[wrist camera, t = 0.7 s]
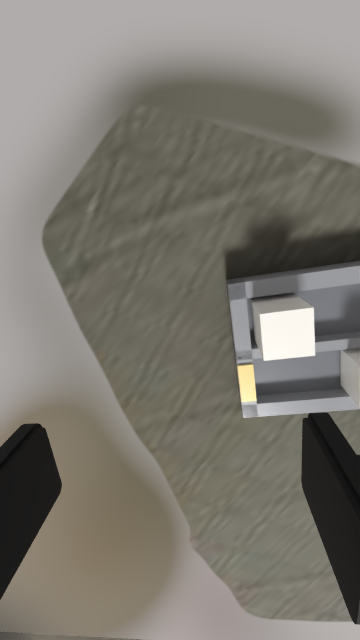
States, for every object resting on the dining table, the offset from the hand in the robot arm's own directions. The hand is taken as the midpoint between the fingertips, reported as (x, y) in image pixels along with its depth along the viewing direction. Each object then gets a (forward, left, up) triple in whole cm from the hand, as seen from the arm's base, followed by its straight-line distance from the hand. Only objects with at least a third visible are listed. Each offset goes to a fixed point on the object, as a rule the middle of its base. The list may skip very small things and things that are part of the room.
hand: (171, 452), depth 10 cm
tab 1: (-1, -7, -18) cm, 20 cm away
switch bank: (-4, -11, -20) cm, 23 cm away
